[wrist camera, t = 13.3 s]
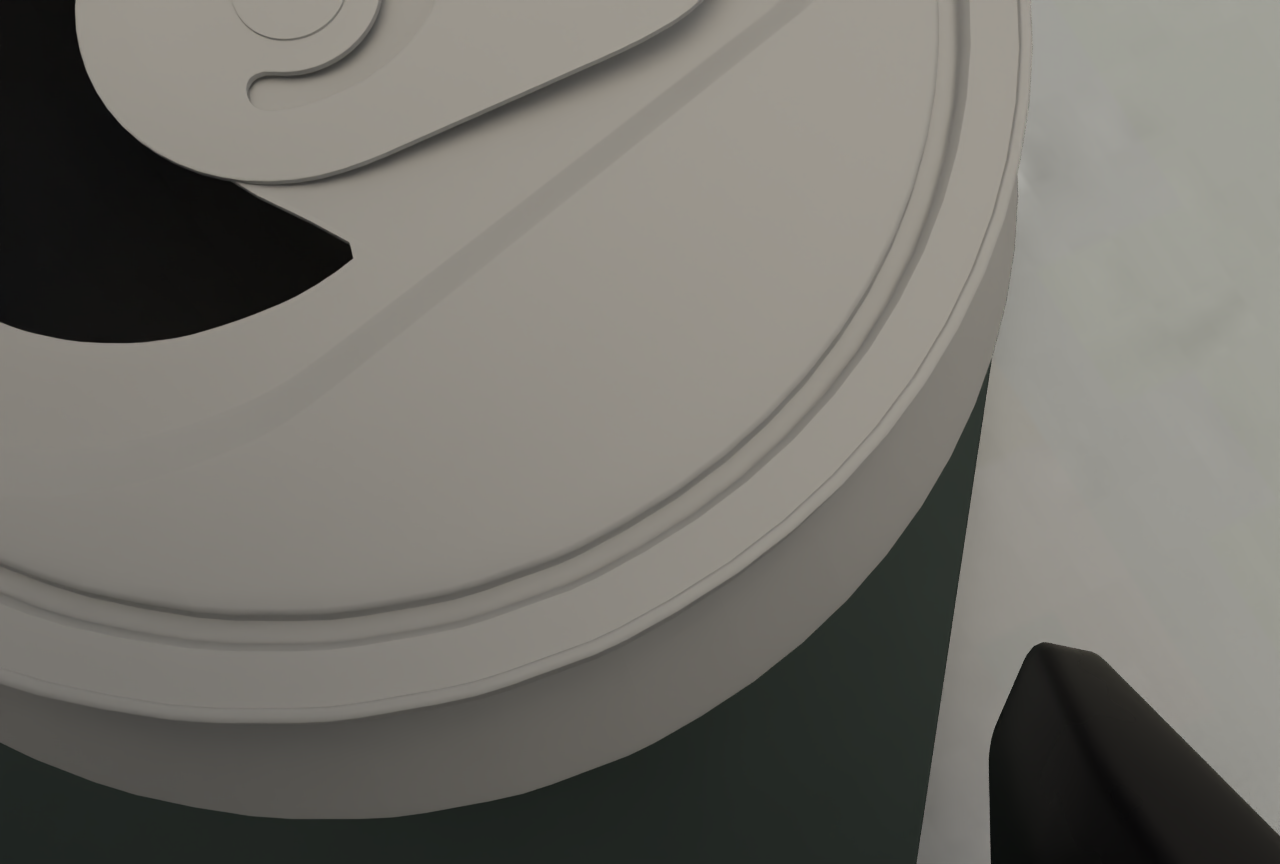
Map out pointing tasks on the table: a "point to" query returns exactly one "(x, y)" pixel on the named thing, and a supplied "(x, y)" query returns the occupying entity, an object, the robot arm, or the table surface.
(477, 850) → the mat
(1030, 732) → the robot arm
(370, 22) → the beverage can
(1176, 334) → the table surface
